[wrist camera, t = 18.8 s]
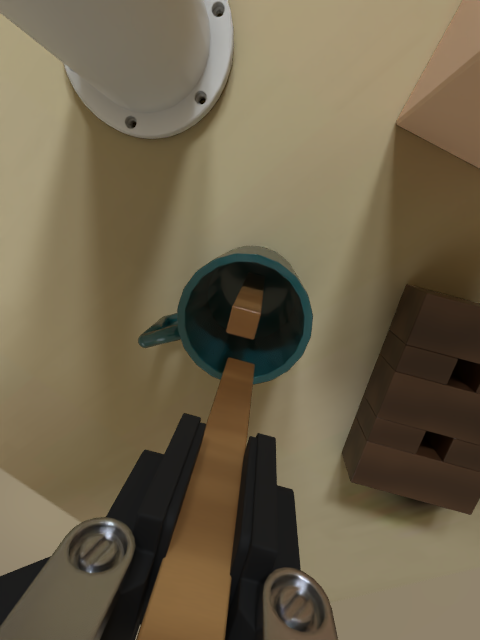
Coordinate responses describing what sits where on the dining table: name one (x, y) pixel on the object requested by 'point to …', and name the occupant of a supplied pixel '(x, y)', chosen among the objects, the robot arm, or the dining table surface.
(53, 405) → the dining table surface
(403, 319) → the stirrer stand
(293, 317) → the mug
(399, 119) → the soap dispenser
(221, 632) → the stirrer
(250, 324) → the stirrer
